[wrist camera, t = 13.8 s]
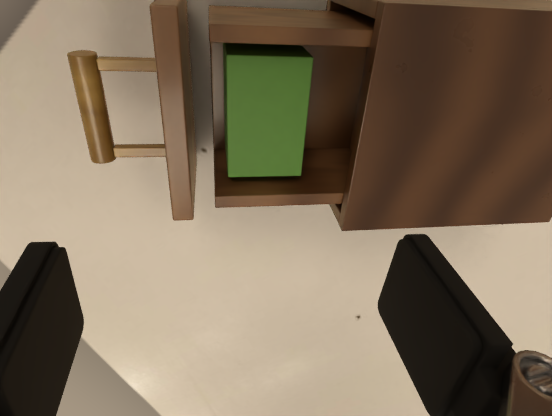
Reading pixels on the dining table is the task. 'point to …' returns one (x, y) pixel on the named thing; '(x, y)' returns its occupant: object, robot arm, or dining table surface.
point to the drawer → (179, 100)
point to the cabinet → (452, 115)
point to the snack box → (265, 108)
